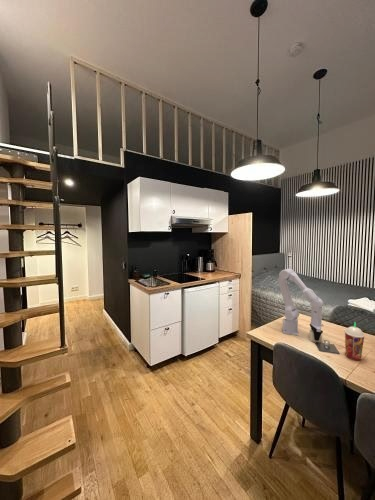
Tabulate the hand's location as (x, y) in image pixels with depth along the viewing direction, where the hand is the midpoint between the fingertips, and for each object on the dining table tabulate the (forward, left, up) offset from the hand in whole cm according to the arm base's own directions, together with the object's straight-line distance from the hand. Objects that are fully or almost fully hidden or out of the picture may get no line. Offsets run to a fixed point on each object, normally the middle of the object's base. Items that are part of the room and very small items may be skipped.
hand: (315, 337), depth 134 cm
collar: (0, 0, -1) cm, 1 cm away
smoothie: (+15, -15, -2) cm, 21 cm away
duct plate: (+4, -9, -1) cm, 10 cm away
